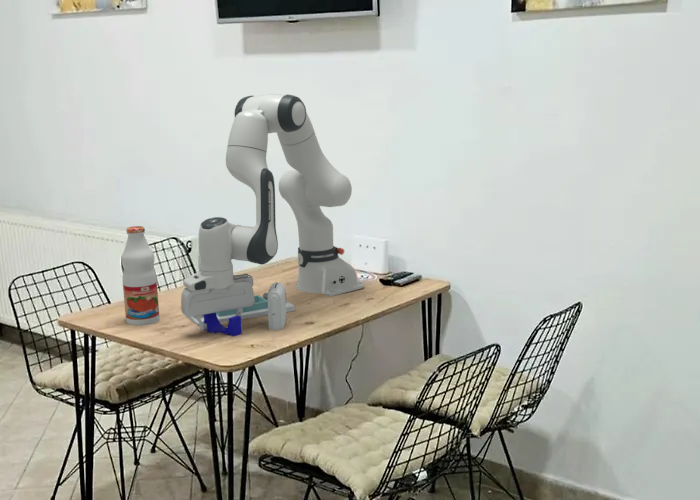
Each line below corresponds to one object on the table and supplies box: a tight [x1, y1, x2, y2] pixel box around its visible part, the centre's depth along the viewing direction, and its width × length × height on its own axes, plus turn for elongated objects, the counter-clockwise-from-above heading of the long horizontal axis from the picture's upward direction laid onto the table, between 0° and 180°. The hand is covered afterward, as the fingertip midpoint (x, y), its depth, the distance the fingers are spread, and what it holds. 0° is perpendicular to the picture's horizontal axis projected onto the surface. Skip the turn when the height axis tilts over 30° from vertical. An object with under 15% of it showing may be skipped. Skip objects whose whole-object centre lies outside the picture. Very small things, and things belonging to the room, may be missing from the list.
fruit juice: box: [120, 225, 160, 326], centre depth 238 cm, size 9×9×28 cm
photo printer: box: [267, 281, 287, 331], centre depth 235 cm, size 10×4×12 cm, turn 177°
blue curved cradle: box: [203, 313, 243, 337], centre depth 230 cm, size 12×4×6 cm, turn 50°
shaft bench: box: [185, 292, 296, 327], centre depth 247 cm, size 30×12×7 cm, turn 119°
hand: (219, 326), depth 232 cm, fingers open, 8 cm apart
